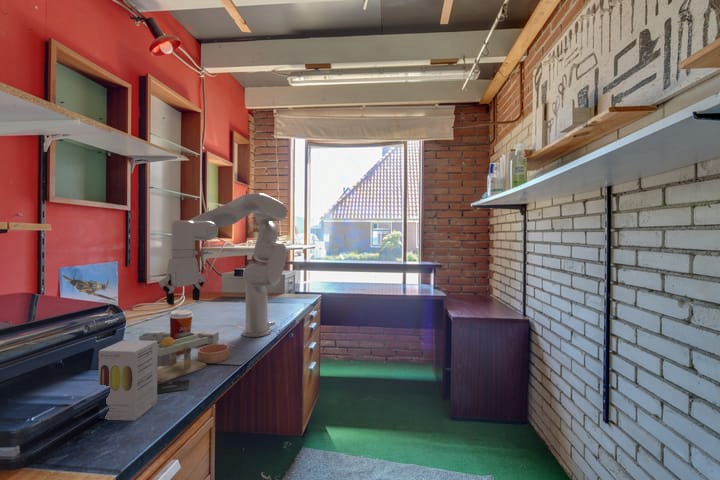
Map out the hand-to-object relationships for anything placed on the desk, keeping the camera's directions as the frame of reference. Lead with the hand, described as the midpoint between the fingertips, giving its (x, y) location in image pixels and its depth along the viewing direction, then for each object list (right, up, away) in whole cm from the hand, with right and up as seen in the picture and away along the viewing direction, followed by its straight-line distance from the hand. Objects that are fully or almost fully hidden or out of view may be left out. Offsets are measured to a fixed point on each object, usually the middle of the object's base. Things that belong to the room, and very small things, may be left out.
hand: (183, 302), depth 126 cm
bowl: (+11, -20, 0) cm, 23 cm away
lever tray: (+1, -17, -8) cm, 18 cm away
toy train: (-11, -20, +17) cm, 29 cm away
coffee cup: (-5, -20, +7) cm, 22 cm away
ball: (+2, -11, -14) cm, 18 cm away
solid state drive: (+8, -21, -24) cm, 33 cm away
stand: (+3, -20, -12) cm, 24 cm away
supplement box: (+6, -21, -38) cm, 44 cm away
